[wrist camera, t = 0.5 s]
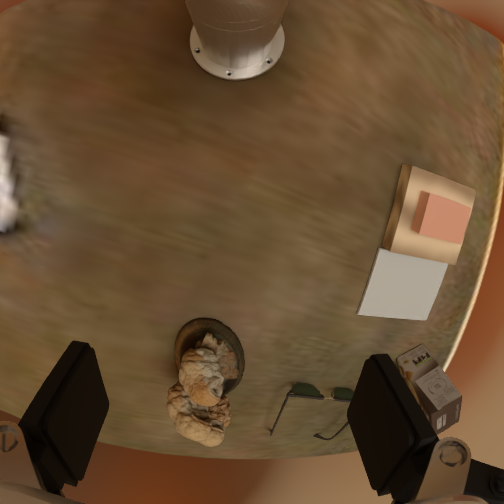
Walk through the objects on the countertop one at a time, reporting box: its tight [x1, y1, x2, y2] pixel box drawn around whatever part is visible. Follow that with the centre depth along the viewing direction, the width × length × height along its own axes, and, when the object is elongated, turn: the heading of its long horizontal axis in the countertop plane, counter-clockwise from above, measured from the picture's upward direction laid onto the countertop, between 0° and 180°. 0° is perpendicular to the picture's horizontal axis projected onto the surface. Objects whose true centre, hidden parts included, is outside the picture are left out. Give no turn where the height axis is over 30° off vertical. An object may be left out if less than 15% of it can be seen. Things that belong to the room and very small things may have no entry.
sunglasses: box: [270, 382, 354, 440], centre depth 55 cm, size 16×17×5 cm
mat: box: [357, 247, 448, 320], centre depth 48 cm, size 12×15×1 cm
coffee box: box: [397, 344, 462, 435], centre depth 47 cm, size 9×6×16 cm
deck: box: [382, 164, 476, 265], centre depth 43 cm, size 13×14×3 cm
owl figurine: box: [166, 318, 245, 447], centre depth 43 cm, size 18×12×17 cm, turn 6°
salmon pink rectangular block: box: [411, 190, 471, 245], centre depth 40 cm, size 6×9×2 cm, turn 80°
